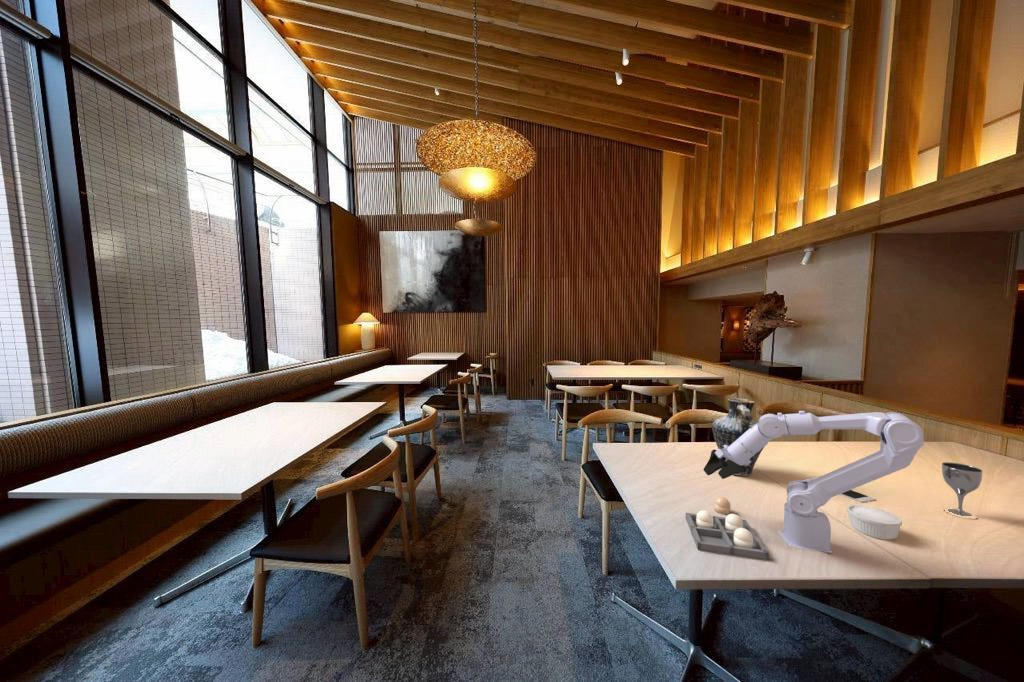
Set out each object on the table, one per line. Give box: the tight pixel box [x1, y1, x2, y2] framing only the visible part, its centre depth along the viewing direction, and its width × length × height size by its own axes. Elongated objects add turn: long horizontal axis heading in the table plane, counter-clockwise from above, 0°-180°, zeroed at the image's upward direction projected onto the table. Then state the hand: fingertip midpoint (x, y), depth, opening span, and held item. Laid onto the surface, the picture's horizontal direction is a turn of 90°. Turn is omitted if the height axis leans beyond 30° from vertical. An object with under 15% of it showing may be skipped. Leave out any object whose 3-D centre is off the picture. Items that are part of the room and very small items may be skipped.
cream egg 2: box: [725, 513, 743, 531], centre depth 103 cm, size 4×4×5 cm
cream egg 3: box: [734, 528, 753, 549], centre depth 95 cm, size 4×4×5 cm
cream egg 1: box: [696, 509, 713, 529], centre depth 105 cm, size 4×4×5 cm
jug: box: [711, 397, 766, 477], centre depth 146 cm, size 21×19×30 cm
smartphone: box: [838, 489, 877, 504], centre depth 129 cm, size 7×16×1 cm, turn 15°
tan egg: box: [714, 496, 731, 516], centre depth 114 cm, size 4×4×5 cm
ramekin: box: [846, 504, 903, 541], centre depth 104 cm, size 11×11×5 cm
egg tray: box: [685, 512, 770, 561], centre depth 100 cm, size 16×16×2 cm
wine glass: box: [941, 461, 983, 516], centre depth 113 cm, size 8×8×15 cm
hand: (713, 474), depth 111 cm, fingers open, 7 cm apart
